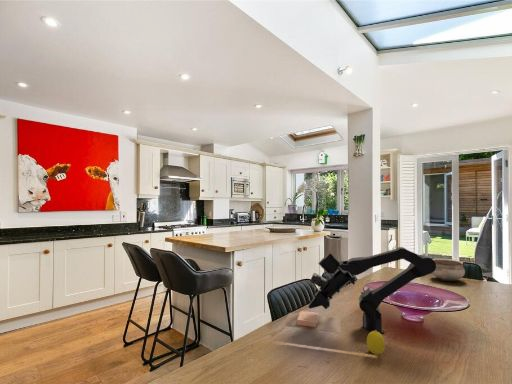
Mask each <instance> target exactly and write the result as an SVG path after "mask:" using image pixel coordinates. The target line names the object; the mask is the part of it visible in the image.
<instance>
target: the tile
mask: <svg viewBox="0 0 512 384" xmlns="http://www.w3.org/2000/svg"><path fill="white" fill-rule="evenodd" d="M298 314H299V317H298V319H297V325H302V326H311V327H316V326H317V322H318V316H319V312H313V311H305V310H300V312H299V313H298Z"/></svg>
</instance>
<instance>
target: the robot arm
mask: <svg viewBox="0 0 512 384" xmlns="http://www.w3.org/2000/svg"><path fill="white" fill-rule="evenodd" d="M433 259H434V258H431V257H429V256H427V255H425V254H418V253H415V252H413V251H410V250H409V249H406V248H405V247H404V246H400V247H397V248H394V249H389V250H387V251H384V252H379V253H378V254H373V255H370V256H360V257H351V258H350V259H348V260H340V261H339V260H338V259H337V258H336V257H335V256H334V254H333V253H332V252H329V253H328V254H326V255H325V256H324V257H323V258H322V259H320V261H319V262H318V265H319V266H320V267H321V268H322V269H323V270H324V271H325V272H326V273H327V274H330V275H332V276H331V277H327V278H325V277H323V276H321V275H320V274H318V273H316V272H313V274H312V276H311V278H310V279H309V280H310V281H309V282H310V283H311V284H314V285H315V286H317V287H318V288H319V289H318V288H316V289H315V292H314V297H313V298H312V300H311V302H310V303H309V305H308V308H309V310H310V309H314V308H317V307H322V308H324V310H328V308H330V306H331V300H332V299H333V297H334V296H335V295H336V294H339V293H340V292H341V290H342V289H343V288H344V287H345V286H346V285H347V284H348V283H349V282H350V283H351V284H352V285H355V284H356V283H355V280H356V276H359V275H361V274H363V273H366V272H367V271H368V270H370V269H372V268H374V267H378V266H382V265H385V264H389V263H392V262H396V261H401V260H404V261H407V262H409V265H408V266H407V267H406V268H405V269H404V270H403V271H400V272H399V273H398V274H396V275H395V276H393V277H392V278H391V279H389V280H388V281H386V282H385V283H384V284H382V285H380V286H378V287H377V288H376V289H372V290H371V288H370V287H367V288H366V289H365V291H362V292H360V295H359V297H358V305H359V309H360V310H361V311H362V312H363V313H362V327H363V328H364V330H365V331H367V332H369V333H370V332H372V331H374V330H376V331H377V332H379V333H380V334H381V335H382V334H384V333H386V331H385V330H383V329H382V328H383V327H382V325H383V324H382V323H383V322H382V311H381V309H380V306H381V304H382V303H383V302H384V300H385V299H386V298H388V297H389V296H391V295H393V294H394V293H395V292H397V291H398V290H400V289H402V288H404V287H405V286H406V285H407V284H409V283H410V282H412V281H414V280H415V279H418V278H422V277H427V276H428V275H430V274H432V273H433V272H434V271H435V270H436V263H435V261H434V260H433Z"/></svg>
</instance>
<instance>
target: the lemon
mask: <svg viewBox="0 0 512 384" xmlns="http://www.w3.org/2000/svg"><path fill="white" fill-rule="evenodd" d="M385 343H386V342H385V339H384V337H383V334H382V333H381V334H380V333H379V332H377V331H376V330H374V331H372V332H369V333H368V334H367V336H366V346H367V349H368V351H369V352H370V353H372V354H373V355H374V356H375V357H377V356H379V355H381V354H383V352H384V350H385V348H386V344H385Z"/></svg>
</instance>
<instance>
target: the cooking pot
mask: <svg viewBox="0 0 512 384" xmlns="http://www.w3.org/2000/svg"><path fill="white" fill-rule="evenodd" d="M432 259H433V260H434V261H435V263H436V270H435V271H434V272H433V273H431V274H432V275H433V276H434V277H436V278H437V279H439V280H440V281H442V282H448V283H452V282H455V281H458V280H460V279H462V278H464V276H465V273H466V270H465V267H464V265H463V264H464V262H463V261H461V260H457V259H449V258H432Z"/></svg>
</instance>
